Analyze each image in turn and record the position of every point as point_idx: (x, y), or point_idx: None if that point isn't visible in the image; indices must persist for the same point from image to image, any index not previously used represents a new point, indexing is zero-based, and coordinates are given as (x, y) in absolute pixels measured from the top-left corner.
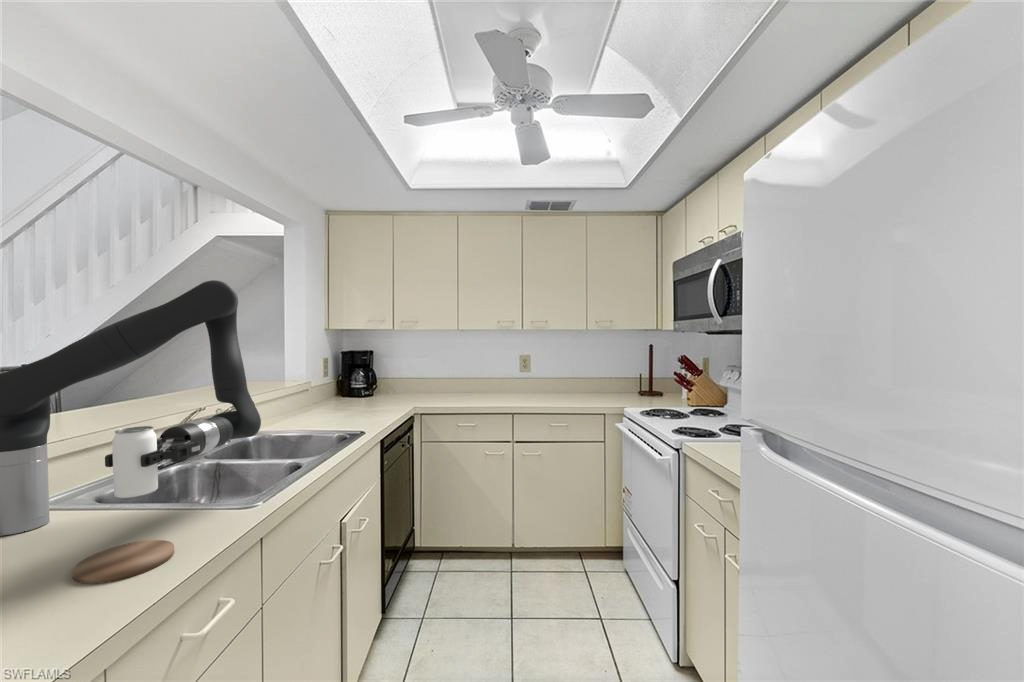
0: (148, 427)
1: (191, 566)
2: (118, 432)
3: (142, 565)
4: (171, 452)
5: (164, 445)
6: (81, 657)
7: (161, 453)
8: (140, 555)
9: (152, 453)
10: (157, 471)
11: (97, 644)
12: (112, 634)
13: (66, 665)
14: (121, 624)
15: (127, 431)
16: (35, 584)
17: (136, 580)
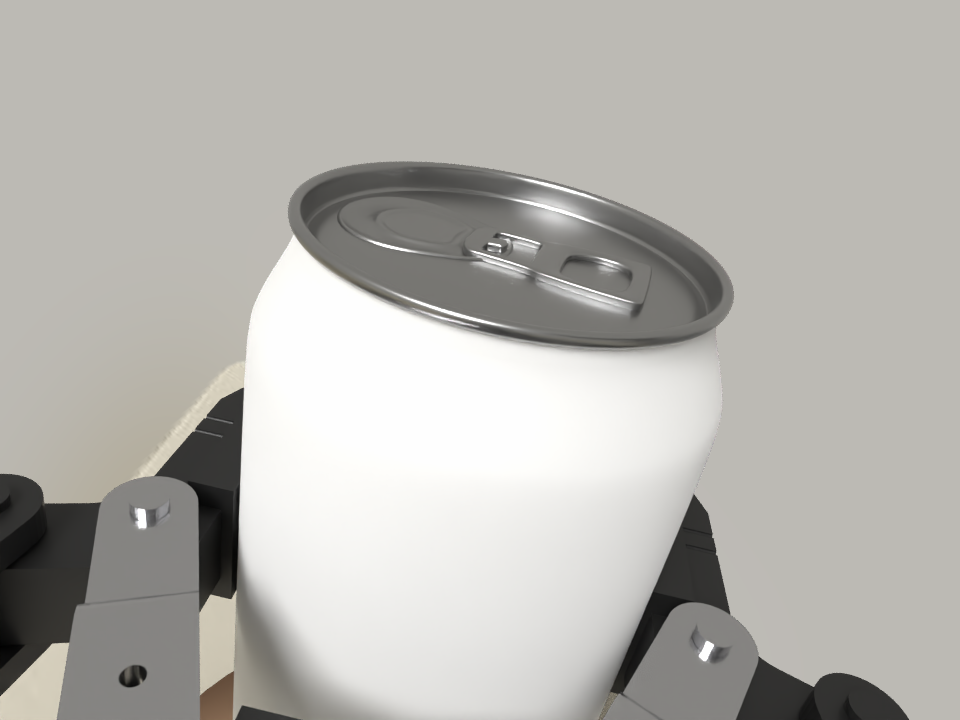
0: (433, 319)
1: (3, 710)
2: (573, 188)
3: (225, 695)
4: (48, 512)
5: (167, 597)
6: (222, 374)
7: (162, 473)
8: None
9: (240, 418)
10: (235, 706)
11: (208, 395)
12: (188, 413)
13: (239, 365)
14: (181, 437)
15: (576, 250)
16: (605, 707)
17: (223, 642)
